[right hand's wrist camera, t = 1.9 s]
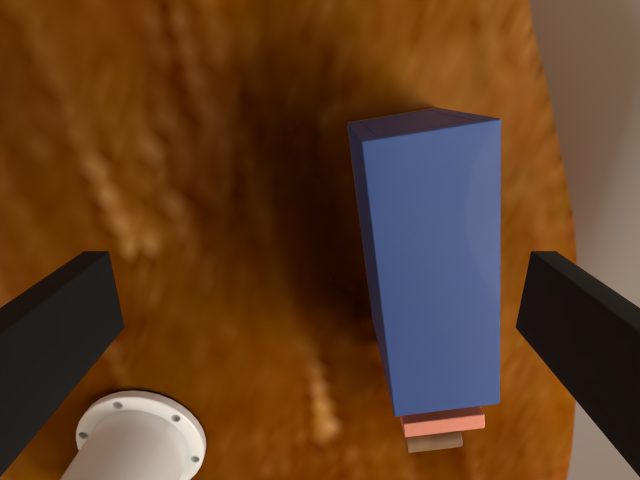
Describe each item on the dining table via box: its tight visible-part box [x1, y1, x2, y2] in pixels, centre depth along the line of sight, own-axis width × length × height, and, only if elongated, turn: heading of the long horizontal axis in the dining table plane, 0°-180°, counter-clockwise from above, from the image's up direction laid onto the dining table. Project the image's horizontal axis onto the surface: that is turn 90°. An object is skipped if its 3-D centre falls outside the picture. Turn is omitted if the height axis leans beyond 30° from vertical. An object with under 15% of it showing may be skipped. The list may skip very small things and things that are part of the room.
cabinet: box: [346, 107, 501, 416], centre depth 27 cm, size 17×7×11 cm, turn 9°
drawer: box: [400, 406, 485, 453], centre depth 29 cm, size 22×5×9 cm, turn 9°
